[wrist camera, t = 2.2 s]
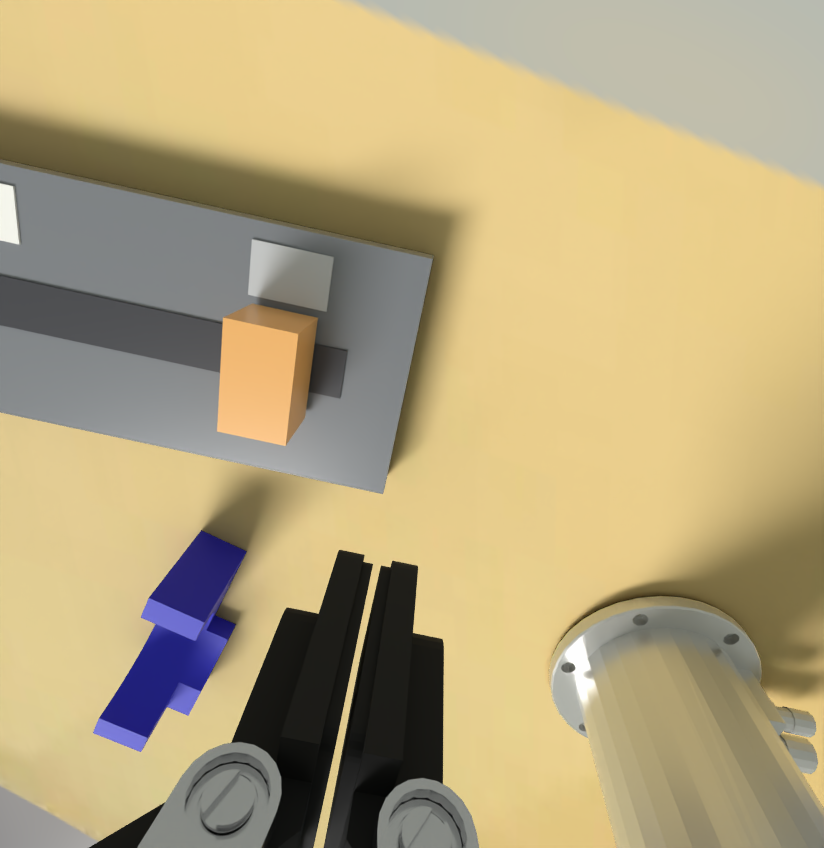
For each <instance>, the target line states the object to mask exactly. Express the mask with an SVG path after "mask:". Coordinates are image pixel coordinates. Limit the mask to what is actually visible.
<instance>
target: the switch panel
mask: <svg viewBox="0 0 824 848" xmlns="http://www.w3.org/2000/svg"><path fill="white" fill-rule="evenodd" d="M433 258H434V255H431V254H426V253H422V252H417V251H413V250H408V249H404V248H399V247H395V246H390V245H386V244H381V243H377V242H372V241H368V240H363V239H359V238H354V237H350V236H345V235H341V234H336V233H332V232H327V231H323V230H318V229H314V228H309V227H305V226H300V225H296V224H291V223H287V222H282V221H278V220H273V219H269V218H264V217H260V216H255V215H251V214H246V213H242V212H237V211H233V210H228V209H224V208H219V207H215V206H210V205H206V204H201V203H197V202H192V201H187V200H183V199H178V198H174V197H169V196H165V195H160V194H156V193H151V192H147V191H142V190H138V189H133V188H129V187H124V186H120V185H115V184H111V183H106V182H102V181H97V180H93V179H88V178H84V177H79V176H75V175H70V174H66V173H61V172H57V171H52V170H48V169H43V168H39V167H34V166H30V165H25V164H21V163H16V162H12V161H7V160H3V159H0V412H1V413H6V414H10V415H15V416H20V417H24V418H29V419H34V420H38V421H43V422H48V423H52V424H57V425H62V426H67V427H71V428H76V429H81V430H85V431H90V432H95V433H99V434H104V435H109V436H113V437H118V438H123V439H128V440H132V441H137V442H142V443H146V444H151V445H156V446H160V447H165V448H170V449H174V450H179V451H184V452H188V453H193V454H198V455H203V456H207V457H212V458H217V459H221V460H226V461H231V462H235V463H240V464H245V465H249V466H254V467H259V468H263V469H268V470H273V471H278V472H282V473H287V474H292V475H296V476H301V477H306V478H310V479H315V480H320V481H324V482H329V483H334V484H338V485H343V486H348V487H353V488H357V489H362V490H367V491H371V492H376V493H381V494H383V492H384V488H385V484H386V479H387V475H388V470H389V466H390V461H391V456H392V451H393V447H394V442H395V437H396V433H397V428H398V423H399V418H400V414H401V409H402V404H403V399H404V395H405V390H406V385H407V381H408V376H409V371H410V366H411V362H412V357H413V352H414V347H415V343H416V338H417V333H418V328H419V324H420V319H421V314H422V310H423V305H424V300H425V295H426V291H427V286H428V281H429V276H430V272H431V267H432V262H433ZM250 304H257V305H262V306H266V307H271V308H275V309H280V310H284V311H289V312H294V313H298V314H303V315H307V316H312V317H316V318H318V321H317V329H316V337H315V345H314V352H313V360H312V368H311V376H310V384H309V391H308V399H307V407H306V415H305V419H304V420H303V422H302V423H301V424H300V426H299V427H298V429H297V430H296V432H295V433H294V435H293V436H292V437H291V439H290V440H289V442H288V443H287V445H286V446H283V445H278V444H273V443H269V442H264V441H259V440H255V439H250V438H245V437H241V436H236V435H231V434H227V433H222V432H217V423H218V404H219V385H220V366H221V346H222V327H223V317H225V316H227V315H229V314H232V313H234V312H236V311H238V310H240V309H242V308H244V307H246V306H248V305H250Z"/></svg>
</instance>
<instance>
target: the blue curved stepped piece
mask: <svg viewBox="0 0 824 848" xmlns="http://www.w3.org/2000/svg"><path fill="white" fill-rule="evenodd" d="M246 552H247V551H245V550H243V549H240V548H238V547H236V546H234V545H232V544H230V543H227V542H225V541H223V540H221V539H219V538H217V537H214V536H212V535H210V534H208V533H206V532H204V531H202V530H201V532H200V533H199V534H198V536H197V537H196V538H195V539H194V541H193V542H192V543H191V545H190V546H189V547H188V548H187V550H186V551H185V552H184V554H183V555H182V556H181V557H180V559H179V560H178V561H177V562H176V564H175V565H174V566H173V568H172V569H171V570H170V571H169V573H168V574H167V575H166V577H165V578H164V579H163V580H162V582H161V583H160V584H159V586H158V587H157V588H156V589H155V591H154V592H153V593H152V595H151V596H150V597H149V599H148V601H147V604H146V606H145V609H144V611H143V613H142V616H141V618H143V619H145V620H148V621H150V622H152V623H155V624H156V625H155V627H154V629H153V630H152V632H151V634H150V636H149V638H148V640H147V642H146V644H145V645H144V647H143V649H142V651H141V652H140V654H139V656H138V658H137V659H136V661H135V663H134V664H133V666H132V668H131V669H130V671H129V673H128V674H127V676H126V678H125V679H124V681H123V683H122V684H121V686H120V687H119V689H118V690H117V692H116V694H115V695H114V697H113V698H112V700H111V701H110V703H109V704H108V706H107V707H106V709H105V710H104V712H103V713H102V715H101V716H100V718H99V720H98V722H97V724H96V727H95V729H94V732H93V733H94V734H97V735H99V736H102V737H104V738H107V739H109V740H112V741H114V742H117V743H120V744H122V745H125V746H127V747H130V748H132V749H135V750H137V751H140V752H141V751H142V749H143V748H144V746H145V744H146V742H147V741H148V739H149V737H150V735H151V734H152V732H153V730H154V728H155V727H156V725H157V723H158V721H159V720H160V718H161V716H162V714H163V713H164V711H165V709H166V707H169V708H171V709H173V710H176V711H178V712H181V713H183V714H186V715H189V713H190V711H191V709H192V708H193V706H194V704H195V702H196V700H197V698H198V696H199V694H200V692H201V690H202V689H203V687H204V685H205V683H206V681H207V679H208V677H209V675H210V673H211V671H212V669H213V668H214V666H215V664H216V662H217V660H218V658H219V656H220V654H221V652H222V650H223V648H224V647H225V645H226V643H227V641H228V639H229V637H230V635H231V633H232V631H233V629H234V627H235V625H236V624H234V623H232V622H229V621H227V620H225V619H223V618H220V617H218V616H216V615H215V614H216V612H217V610H218V608H219V606H220V604H221V602H222V600H223V598H224V596H225V594H226V592H227V590H228V588H229V586H230V584H231V582H232V580H233V578H234V576H235V574H236V572H237V570H238V568H239V566H240V564H241V562H242V560H243V558H244V556H245V554H246Z"/></svg>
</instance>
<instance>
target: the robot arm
mask: <svg viewBox="0 0 824 848" xmlns="http://www.w3.org/2000/svg"><path fill="white" fill-rule="evenodd" d="M363 560H364V555H362V554H357V553H353V552H348V551H343V550H339V552H338V554H337V558H336V561H335V564H334V567H333V570H332V574H331V577H330V580H329V583H328V586H327V590H326V593H325V596H324V599H323V602H322V605H321V609H320V612H319V614H317V613H312V612H307V611H302V610H297V609H292V608H286V609H285V611H284V613H283V615H282V618H281V620H280V623H279V625H278V628H277V630H276V633H275V635H274V638H273V640H272V643H271V645H270V648H269V650H268V653H267V655H266V658H265V660H264V663H263V665H262V668H261V670H260V673H259V675H258V678H257V680H256V683H255V685H254V688H253V690H252V692H251V695H250V697H249V700H248V702H247V705H246V707H245V710H244V712H243V715H242V717H241V720H240V722H239V725H238V727H237V730H236V732H235V735H234V737H233V740H232V742H231V743H228V744H223V745H220V746H218V747H215V748H213V749H211V750H208V751H207V752H206V753H204V754H203V755H202V756H200V757H199V758H198V759H196V760H195V761H194V762H193V763H192V764H191V765H190V767H189V768H188V769H187V770H186V772H185V773H184V774H183V775H182V777H181V778H180V780H179V782H178V783H177V785H176V786H175V788H174V790H173V791H172V793H171V794H170V796H169V798H168V799H167V801H166V802H165V803H163V804H162V805H160V806H158V807H157V808H155V809H153V810H151V811H150V812H148V813H146V814H145V815H143V816H141V817H140V818H138V819H136V820H135V821H133V822H131V823H130V824H128V825H126V826H125V827H123V828H121V829H120V830H118V831H116V832H115V833H113V834H111V835H109V836H108V837H106V838H104V839H103V840H101V841H99V842H98V843H96V844H94V845H93V846H91V847H89V848H313V846H314V842H315V837H316V833H317V828H318V823H319V819H320V814H321V810H322V805H323V800H324V796H325V791H326V787H327V782H328V778H329V773H330V768H331V764H332V759H333V755H334V750H335V745H336V740H337V736H338V731H339V726H340V721H341V716H342V712H343V707H344V702H345V697H346V692H347V687H348V682H349V678H350V673H351V668H352V663H353V658H354V653H355V649H356V644H357V639H358V634H359V629H360V624H361V619H362V615H363V610H364V605H365V600H366V595H367V590H368V586H369V581H370V576H371V571H372V566H373V564H370V563H365V562H363ZM417 574H418V566H415V565H411V564H406V563H401V562H396V561H392V564H391V568H390V567H385V566H381V568H380V573H379V577H378V582H377V586H376V590H375V595H374V599H373V604H372V608H371V613H370V617H369V622H368V626H367V631H366V635H365V639H364V644H363V648H362V653H361V657H360V662H359V667H358V672H357V677H356V682H355V687H354V693H353V698H352V703H351V708H350V713H349V719H348V724H347V729H346V734H345V739H344V745H343V750H342V755H341V760H340V766H339V771H338V776H337V781H336V786H335V792H334V797H333V802H332V807H331V812H330V818H329V823H328V828H327V833H326V839H325V844H324V848H479V844H478V839H477V833H476V830H475V826H474V823H473V820H472V816H471V814H470V813H469V811H468V809H467V807H466V806H465V804H464V802H463V801H462V800H461V799H460V798H459V797H458V796H457V795H456V794H455V793H454V792H453V791H452V790H451V789H450V788H449V787H447V786H445V785H443V675H444V646H443V640H442V639H439V638H435V637H430V636H425V635H420V634H415V633H413V624H414V611H415V599H416V586H417ZM761 676H762V669H761V659H760V657H759V654H758V652H757V650H756V647H755V645H754V644H753V642H752V641H751V639H750V638H749V636H748V635H747V634H746V632H745V631H744V629H743V628H742V627H741V626H740V625H739V624H738V623H737V622H736V621H735V620H734V619H733V618H732V617H730V616H729V615H727V614H726V613H724V612H722V611H721V610H719V609H718V608H715V607H713V606H710V605H708V604H705V603H703V602H700V601H696V600H691V599H687V598H682V597H668V596H654V597H642V598H636V599H631V600H627V601H623V602H618V603H616V604H613V605H611V606H608V607H605V608H603V609H600V610H598V611H596V612H595V613H593V614H591V615H590V616H588V617H586V618H584V619H583V620H581V621H580V622H579V623H578V624H577V625H575V626H574V627H573V628H572V629H571V630H569V631H568V633H567V634H566V635H565V636H564V638H563V639H562V640H561V641H560V642H559V644H558V646H557V648H556V650H555V652H554V654H553V656H552V658H551V663H550V667H549V685H550V689H551V693H552V698H553V702H554V704H555V706H556V708H557V710H558V712H559V714H560V715H561V716H562V718H563V719H564V720H565V721H566V723H567V724H568V725H569V726H570V727H572V728H573V729H574V730H575V731H576V732H578V733H579V734H581V735H583V736H585V737H587V738H588V740H589V744H590V748H591V751H592V755H593V759H594V763H595V767H596V770H597V774H598V778H599V782H600V786H601V790H602V793H603V797H604V801H605V805H606V809H607V812H608V816H609V820H610V824H611V828H612V832H613V835H614V839H615V843H616V847H617V848H824V808H823V806H822V804H821V803H820V801H819V800H818V798H817V796H816V795H815V793H814V792H813V790H812V788H811V787H810V785H809V784H808V782H807V780H806V779H805V777H804V776H803V774H802V773H806V774H812V773H813V772H814V771H815V770H816V768H817V764H818V760H817V753H816V751H815V749H814V747H813V745H812V744H811V743H810V742H809V741H808V740H807V739H805V738H802V737H799V736H794V735H789V734H784V733H782V732H783V731H784V732H787V733H791V734H796V735H801V736H805V737H812V736H814V734H815V732H816V722H815V720H814V718H813V716H812V715H811V714H810V713H809V712H806V711H802V710H797V709H792V708H787V707H777V706H775V705H774V703H773V702H771V700H770V699H769V697H768V696H767V694H766V692H765V691H764V689H763V688H762V686H761V685H760V681H761Z"/></svg>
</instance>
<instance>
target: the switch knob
mask: <svg viewBox="0 0 824 848" xmlns="http://www.w3.org/2000/svg"><path fill="white" fill-rule="evenodd" d="M317 321H318V318H316V317H312V316H307V315H303V314H298V313H294V312H289V311H284V310H280V309H275V308H271V307H266V306H262V305H257V304H250V305H248V306H246V307H244V308H242V309H240V310H238V311H236V312H234V313H232V314H229V315H227V316H225V317H223V327H222V346H221V366H220V385H219V404H218V423H217V432H222V433H227V434H231V435H236V436H241V437H245V438H250V439H255V440H259V441H264V442H269V443H273V444H278V445H283V446H286V445H287V443H288V442H289V440H290V439H291V437H292V436H293V435H294V433H295V432H296V430H297V429H298V427H299V426H300V424H301V423H302V422H303V420H304V419H305V415H306V407H307V399H308V391H309V384H310V376H311V368H312V360H313V352H314V345H315V337H316V329H317Z"/></svg>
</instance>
